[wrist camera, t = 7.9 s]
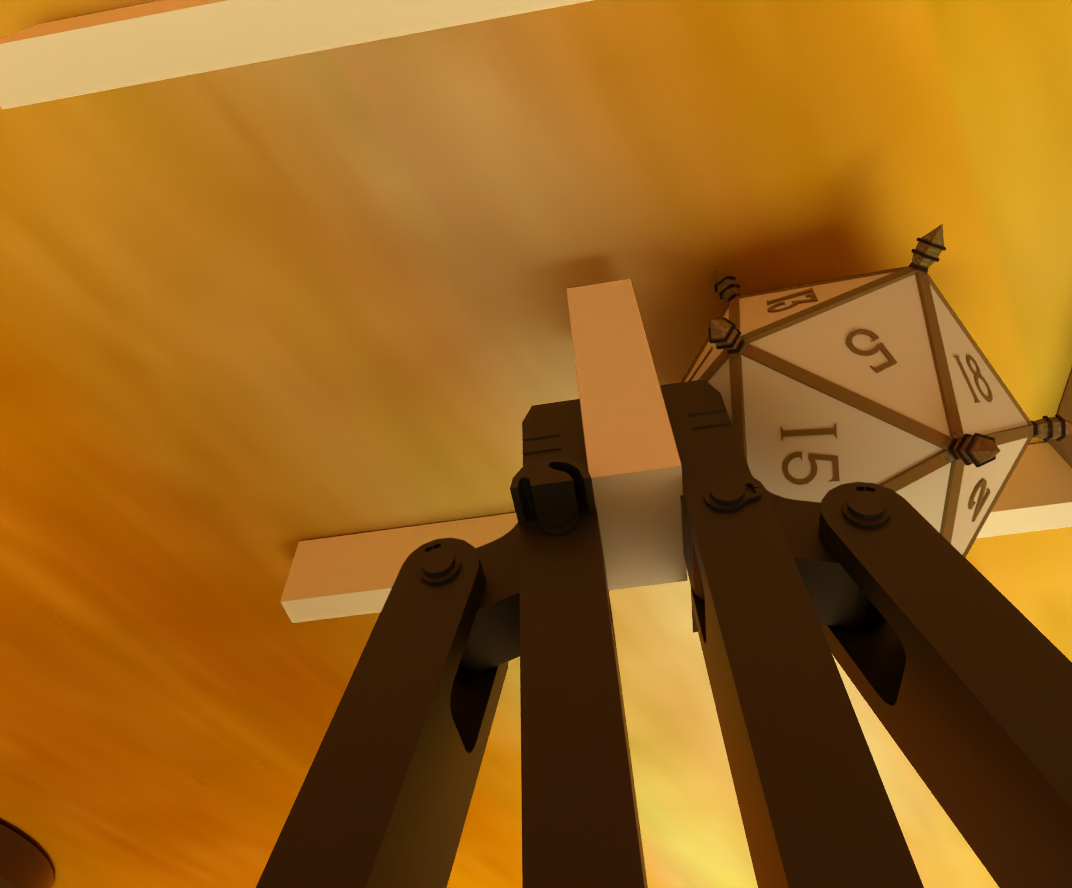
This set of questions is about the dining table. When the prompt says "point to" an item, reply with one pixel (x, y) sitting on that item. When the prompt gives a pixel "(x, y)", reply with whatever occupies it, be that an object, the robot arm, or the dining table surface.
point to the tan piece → (325, 23)
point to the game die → (869, 393)
